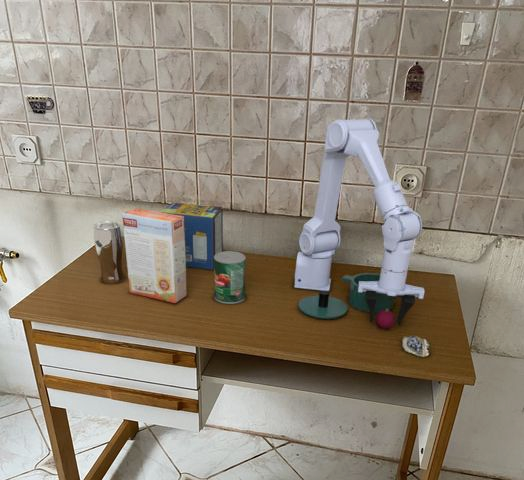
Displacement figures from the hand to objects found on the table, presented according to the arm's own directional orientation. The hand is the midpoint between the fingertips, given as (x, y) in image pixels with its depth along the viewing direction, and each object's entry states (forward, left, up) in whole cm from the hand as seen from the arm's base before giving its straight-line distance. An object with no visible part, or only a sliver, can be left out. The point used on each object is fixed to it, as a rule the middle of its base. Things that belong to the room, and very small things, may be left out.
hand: (384, 322), depth 122 cm
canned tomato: (-39, +7, -2) cm, 40 cm away
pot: (-3, +13, -1) cm, 13 cm away
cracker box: (-57, +4, -2) cm, 57 cm away
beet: (0, 0, +1) cm, 1 cm away
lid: (-15, +6, -1) cm, 16 cm away
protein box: (-55, +29, -2) cm, 62 cm away
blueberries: (+7, -8, -2) cm, 11 cm away
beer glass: (-72, +10, -2) cm, 73 cm away
